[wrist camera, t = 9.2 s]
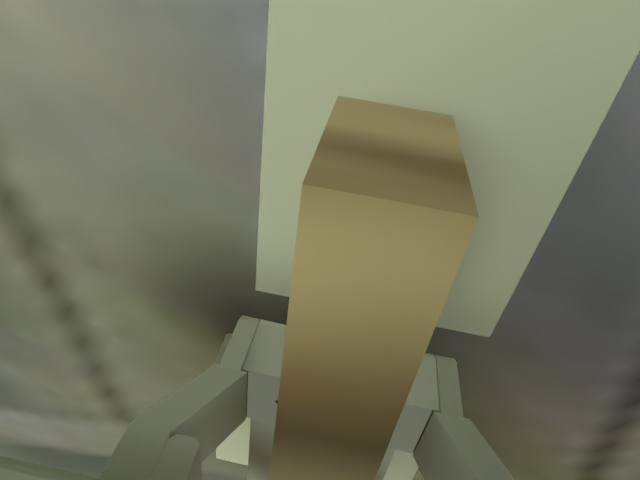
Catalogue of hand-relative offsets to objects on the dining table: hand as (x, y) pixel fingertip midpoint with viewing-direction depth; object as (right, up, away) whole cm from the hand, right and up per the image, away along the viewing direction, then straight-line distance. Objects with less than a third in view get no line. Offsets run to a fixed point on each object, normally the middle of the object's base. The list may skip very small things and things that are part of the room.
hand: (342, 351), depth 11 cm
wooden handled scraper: (0, -1, +2) cm, 3 cm away
